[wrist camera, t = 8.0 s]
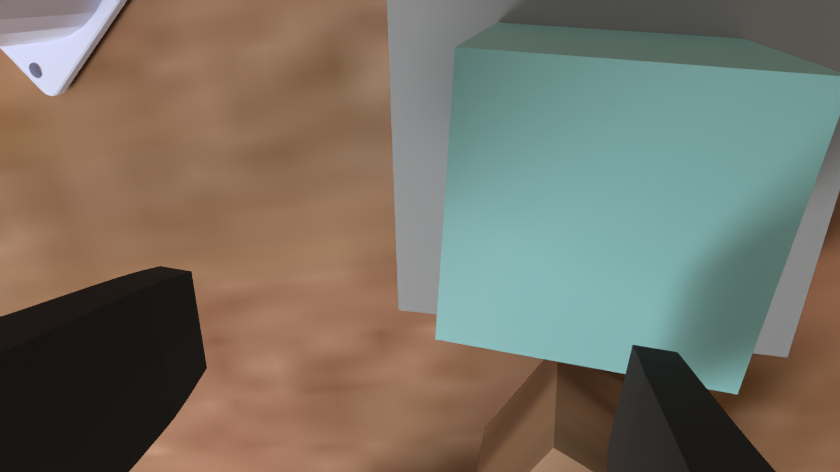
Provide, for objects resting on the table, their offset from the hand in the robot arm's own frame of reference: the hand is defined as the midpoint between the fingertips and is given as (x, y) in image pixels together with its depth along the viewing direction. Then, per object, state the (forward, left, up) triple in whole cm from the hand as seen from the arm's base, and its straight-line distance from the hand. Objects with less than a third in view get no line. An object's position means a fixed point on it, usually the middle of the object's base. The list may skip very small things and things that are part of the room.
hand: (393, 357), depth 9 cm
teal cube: (+1, +4, -6) cm, 7 cm away
